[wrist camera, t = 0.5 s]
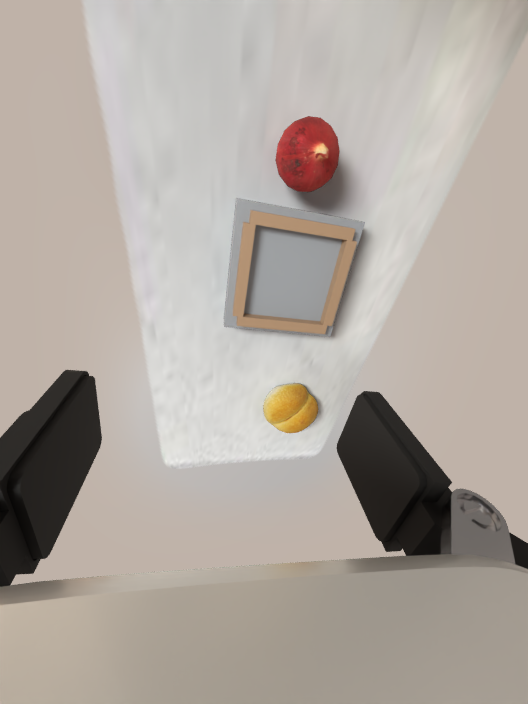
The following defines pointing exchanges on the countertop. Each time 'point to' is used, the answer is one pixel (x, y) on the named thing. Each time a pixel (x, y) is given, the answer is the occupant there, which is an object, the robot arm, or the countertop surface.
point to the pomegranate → (307, 154)
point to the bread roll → (290, 408)
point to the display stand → (288, 268)
